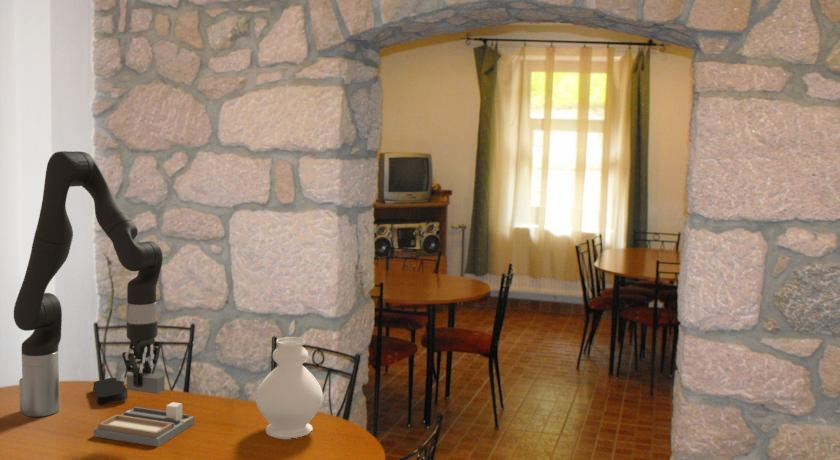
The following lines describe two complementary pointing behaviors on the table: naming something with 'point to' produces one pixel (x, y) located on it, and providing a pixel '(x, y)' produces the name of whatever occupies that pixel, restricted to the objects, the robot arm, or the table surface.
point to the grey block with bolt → (145, 383)
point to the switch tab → (174, 411)
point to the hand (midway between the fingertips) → (142, 384)
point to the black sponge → (110, 391)
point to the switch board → (143, 426)
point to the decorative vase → (289, 392)
